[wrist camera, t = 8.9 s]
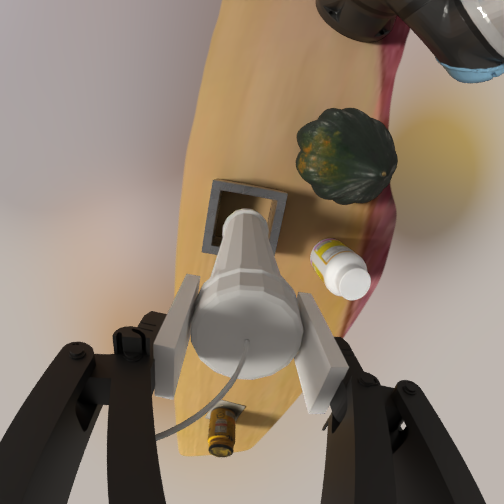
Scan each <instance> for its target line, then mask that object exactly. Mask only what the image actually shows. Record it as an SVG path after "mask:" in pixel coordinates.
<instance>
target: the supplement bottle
mask: <svg viewBox="0 0 504 504" xmlns="http://www.w3.org/2000/svg"><path fill="white" fill-rule="evenodd" d="M310 260H311V265H312V267H313V268H314V270H315V271H316V273H317V274H318V276H319V277H320V278H321V280H322V281H323V282H324V284H325V285H326V287H327V288H328V289H329V291H330V292H332V293H333V294H335V295H337V296H343V297H344V298H345V299H347V300H357V299H359V298H361V297H363V296H364V295H365V294H366V293H367V291H368V290H369V287H370V284H371V279H370V275H369V273H368V272H367V267H366V264H365V262H364V260H363V259H362V258H361V257H360V256H359V255H357V254H356V253H355V252H353V251H352V250H351V249H350V248H348V247H347V246H346V245H344V244H343V243H342V242H340V241H338V240H336V239H332V238H328V239H324V240H321V241H320V242H318V243H317V244H316V245H315V246H314V248H313V250H312V252H311V257H310Z"/></svg>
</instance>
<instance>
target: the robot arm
mask: <svg viewBox="0 0 504 504" xmlns="http://www.w3.org/2000/svg"><path fill="white" fill-rule="evenodd" d="M316 7H317V10H318V12H319V14H320V15H321V17H322V18H323V19H324V21H325V22H326V23H327V24H328V25H329V26H331V27H332V28H333V29H334V30H336V31H337V32H339V33H341V34H342V35H344V36H346V37H349V38H351V39H354V40H357V41H362V42H375V41H379V40H381V39H383V38H384V37H385V36H386V35H388V34H389V33H390V31H391V30H392V28H393V25H394V22H395V19H396V16H397V15H398V16H399V17H400V18H401V19H402V20H403V21H404V22H405V23H406V24H407V25H408V26H409V27H410V28H411V29H412V30H413V31H414V33H415V34H416V35H417V36H418V37H419V38H420V39H421V40H422V41H423V42H424V44H425V45H426V46H427V47H428V48H429V49H430V51H431V52H432V53H433V54H434V56H435V58H436V60H437V61H438V62H439V63H440V64H441V65H442V66H443V67H444V68H445V69H446V71H447V72H448V73H449V74H450V75H451V76H452V77H453V78H454V79H456V80H457V81H459V82H463V83H479V82H485V81H488V80H491V79H492V78H493V77H498V76H500V75H501V74H503V73H504V0H316ZM199 282H200V276H196V275H190V274H186V276H185V278H184V280H183V282H182V284H181V286H180V289H179V291H178V293H177V295H176V297H175V299H174V301H173V303H172V305H171V307H170V309H169V311H168V314H163V313H158V312H153V311H151V312H149V313H148V314H146V315H144V317H143V318H142V320H141V322H140V323H139V325H138V327H133V326H129V327H123V328H119V329H118V330H116V331H115V332H114V334H113V345H114V354H94V352H93V348H92V347H91V346H90V345H88V344H86V343H83V342H71V343H69V344H66V345H65V346H64V347H63V348H62V349H61V351H60V352H59V353H58V355H57V356H56V357H55V359H54V360H53V361H52V363H51V364H50V365H49V367H48V368H47V370H46V371H45V372H44V374H43V375H42V377H41V378H40V380H39V381H38V382H37V384H36V385H35V387H34V388H33V390H32V391H31V393H30V394H29V396H28V397H27V399H26V400H25V402H24V403H23V405H22V406H21V408H20V410H19V411H18V413H17V414H16V416H15V418H14V419H13V421H12V423H11V424H10V426H9V428H8V429H7V431H6V433H5V435H4V436H3V438H2V440H1V442H0V504H67V502H68V498H69V495H70V492H71V489H72V486H73V483H74V480H75V477H76V474H77V471H78V468H79V465H80V462H81V459H82V457H83V454H84V451H85V449H86V446H87V443H88V441H89V438H90V435H91V433H92V430H93V428H94V425H95V422H96V420H97V418H98V416H99V413H100V411H101V408H102V406H103V405H109V411H108V431H107V480H108V497H109V504H166V501H165V496H164V491H163V485H162V480H161V474H160V467H159V461H158V454H157V446H156V438H155V428H154V418H153V407H152V394H153V391H154V389H155V396H158V397H163V398H167V399H172V400H173V399H174V395H175V391H176V387H177V383H178V379H179V376H180V372H181V368H182V364H183V361H184V357H185V353H186V349H187V346H188V342H189V339H190V335H191V320H192V317H193V314H194V303H195V300H196V298H197V296H198V290H199ZM297 302H298V305H299V309H300V318H301V321H302V325H303V329H304V332H303V336H302V341H301V346H300V349H299V351H298V352H297V354H296V355H295V356H294V360H295V364H296V368H297V371H298V375H299V379H300V383H301V387H302V391H303V394H304V398H305V402H306V406H307V410H308V414H325V412H326V410H327V409H328V407H329V405H330V406H331V409H332V413H331V415H330V416H329V418H328V420H327V421H326V423H325V425H324V426H323V429H322V430H325V429H326V427H327V426H328V434H327V449H326V461H325V471H324V481H323V489H322V497H321V504H486V503H485V501H484V499H483V497H482V494H481V492H480V490H479V488H478V486H477V484H476V482H475V481H474V479H473V476H472V475H471V473H470V471H469V469H468V467H467V465H466V463H465V461H464V460H463V458H462V456H461V454H460V452H459V451H458V449H457V447H456V445H455V444H454V442H453V440H452V438H451V437H450V435H449V433H448V432H447V430H446V428H445V427H444V425H443V423H442V422H441V420H440V418H439V417H438V415H437V413H436V412H435V411H434V409H433V407H432V405H431V404H430V402H429V401H428V399H427V398H426V396H425V394H424V393H423V391H422V390H421V388H420V387H419V386H418V385H417V384H415V383H414V382H412V381H408V380H402V381H399V382H398V383H397V385H396V386H395V388H391V387H386V386H381V385H380V382H379V381H378V379H377V378H376V377H375V376H373V375H371V374H370V373H367V372H364V371H363V369H362V367H361V366H360V364H359V362H358V360H357V358H356V357H355V355H354V353H353V351H352V349H351V348H350V346H349V344H348V343H347V342H346V341H345V340H344V339H343V338H341V337H333V335H332V333H331V331H330V329H329V327H328V325H327V323H326V321H325V319H324V317H323V315H322V313H321V312H320V310H319V308H318V306H317V304H316V302H315V300H314V298H313V296H312V295H311V294H309V293H302V292H298V296H297ZM403 422H405V424H406V427H405V429H404V430H402V428H401V424H402V423H403Z"/></svg>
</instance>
